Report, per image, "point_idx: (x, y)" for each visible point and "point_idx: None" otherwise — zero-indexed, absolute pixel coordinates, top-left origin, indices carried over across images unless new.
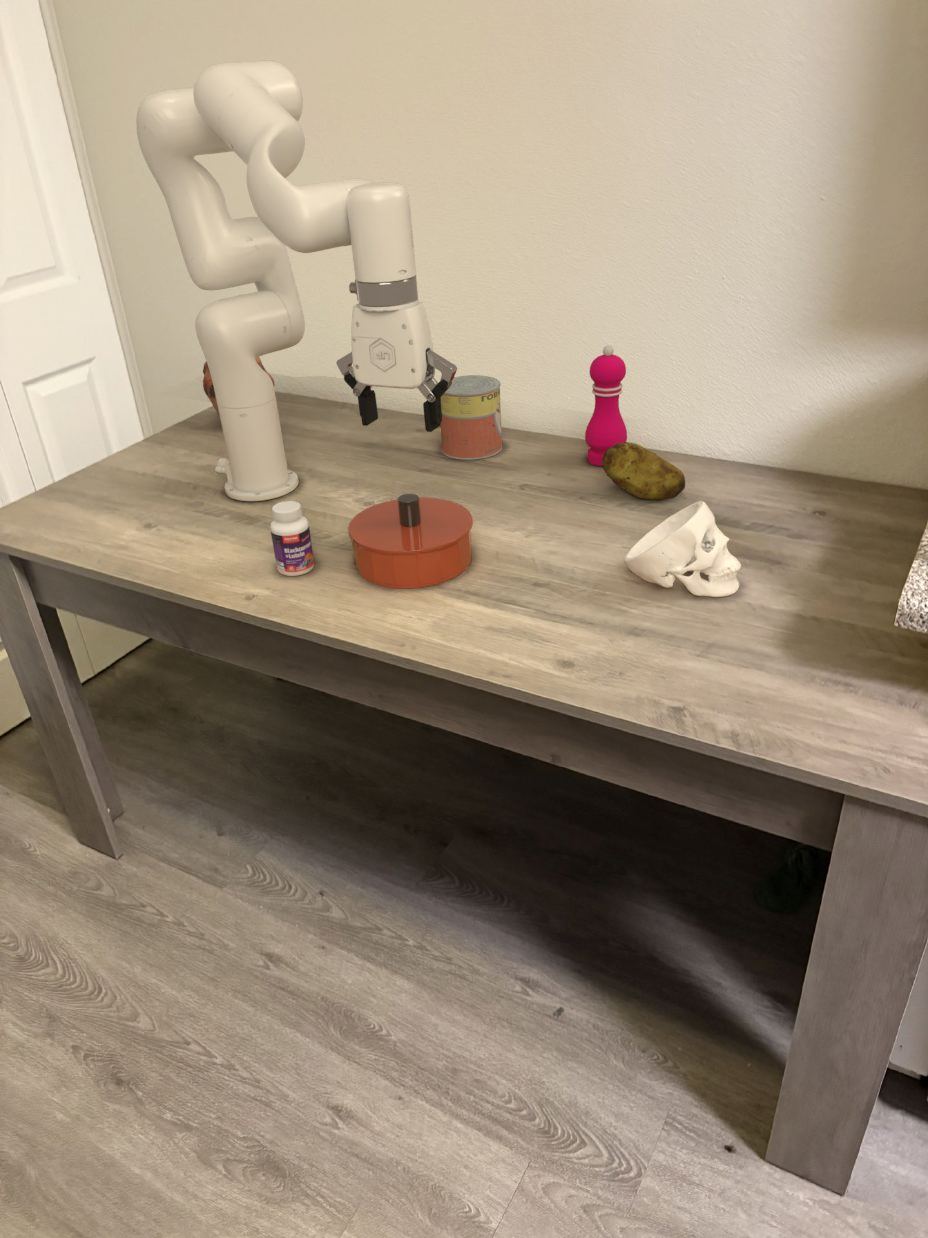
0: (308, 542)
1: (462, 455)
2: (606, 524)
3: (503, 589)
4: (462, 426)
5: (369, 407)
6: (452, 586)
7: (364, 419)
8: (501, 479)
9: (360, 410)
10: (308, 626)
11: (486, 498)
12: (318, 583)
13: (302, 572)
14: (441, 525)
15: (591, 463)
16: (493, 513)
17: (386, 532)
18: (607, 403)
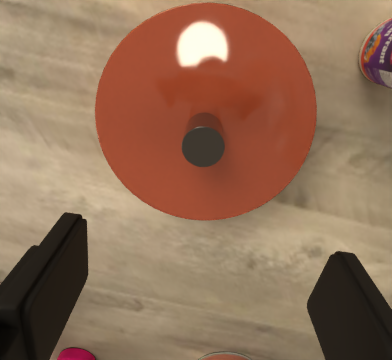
0: (385, 52)
1: (228, 357)
2: (8, 238)
3: (44, 48)
4: None
5: (346, 323)
6: (119, 42)
7: (350, 265)
8: (168, 318)
9: (383, 297)
10: None
11: (169, 279)
12: (339, 5)
13: (375, 27)
14: (146, 128)
15: (87, 351)
16: (147, 247)
17: (235, 84)
18: None
